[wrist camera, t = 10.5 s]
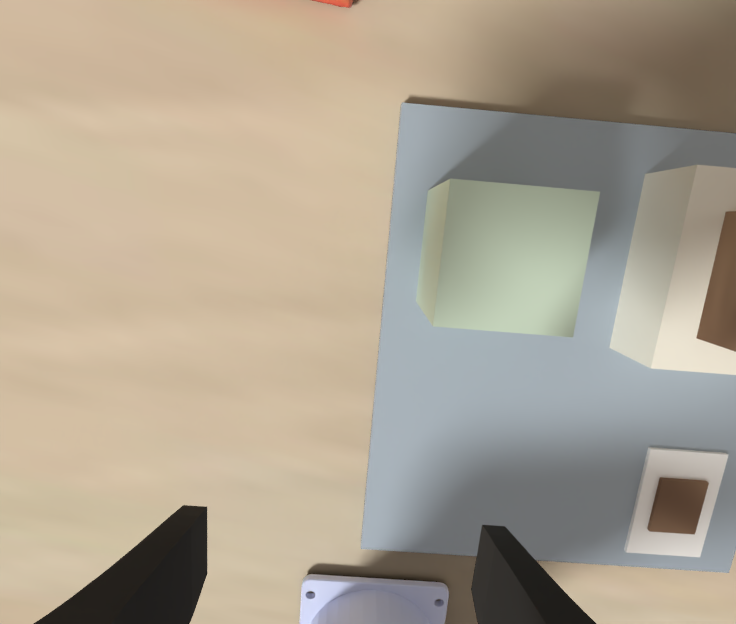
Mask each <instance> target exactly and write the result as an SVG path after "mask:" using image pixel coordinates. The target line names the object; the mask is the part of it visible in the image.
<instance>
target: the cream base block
mask: <svg viewBox="0 0 736 624" xmlns="http://www.w3.org/2000/svg"><path fill="white" fill-rule="evenodd" d="M729 211H736V168H730V167H718V166H707V165H692V166H687V167H681V168H676V169H670V170H665V171H659V172H654V173H648V174H645V177H644V181H643V186H642V191H641V196H640V201H639V206H638V211H637V216H636V220H635V225H634V230H633V235H632V240H631V245H630V250H629V254H628V259H627V264H626V269H625V274H624V279H623V284H622V289H621V293H620V298H619V303H618V308H617V313H616V318H615V323H614V328H613V332H612V337H611V342H610V347H609V348H611V349H613V350H615V351H617V352H619V353H621V354H623V355H625V356H627V357H629V358H631V359H633V360H635V361H637V362H639V363H641V364H643V365H645V366H647V367H649V368H651V369H663V370H676V371H689V372H702V373H715V374H728V375H736V352H735V351H732V350H729V349H726V348H723V347H720V346H717V345H714V344H712V343H709V342H706V341H703V340H700V339H697V338H696V337H697V333H698V329H699V324H700V320H701V316H702V311H703V307H704V303H705V299H706V294H707V290H708V286H709V281H710V277H711V273H712V268H713V264H714V260H715V256H716V251H717V247H718V243H719V238H720V234H721V230H722V225H723V221H724V217H725V213H726V212H729Z"/></svg>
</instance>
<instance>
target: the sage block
mask: <svg viewBox="0 0 736 624" xmlns="http://www.w3.org/2000/svg"><path fill="white" fill-rule="evenodd" d="M599 196H600V192H598V191H587V190H575V189H564V188H552V187H541V186H530V185H518V184H507V183H495V182H484V181H473V180H461V179H448V180H447V181H445V182H443V183H441V184H439V185H437V186H435V187H434V188H432V189H430V190H428V193H427V202H426V212H425V221H424V230H423V240H422V249H421V258H420V268H419V277H418V286H417V296H416V302H417V304H418V305H419V307H420V308H421V310H422V311H423V313H424V314H425V315H426V317H427V318H428V320H429V321H430V323H431V324H432V326H433V327H446V328H459V329H471V330H484V331H497V332H509V333H522V334H535V335H547V336H560V337H573V335H574V330H575V324H576V319H577V313H578V308H579V303H580V297H581V292H582V287H583V281H584V276H585V271H586V265H587V260H588V254H589V249H590V244H591V238H592V233H593V228H594V222H595V217H596V212H597V206H598V201H599Z"/></svg>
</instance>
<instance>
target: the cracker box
mask: <svg viewBox="0 0 736 624" xmlns="http://www.w3.org/2000/svg"><path fill="white" fill-rule="evenodd" d="M312 1H317V2H322V3H327V4H332V5H336V6H339V7H347V8H349V7H351V6H352V3H353V0H312Z"/></svg>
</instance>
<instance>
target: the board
mask: <svg viewBox="0 0 736 624" xmlns="http://www.w3.org/2000/svg"><path fill="white" fill-rule="evenodd" d="M692 165H707V166H718V167H730V168H736V133H727V132H716V131H705V130H694V129H683V128H673V127H662V126H651V125H640V124H629V123H618V122H607V121H597V120H586V119H575V118H564V117H553V116H542V115H531V114H520V113H510V112H499V111H488V110H477V109H466V108H455V107H444V106H434V105H423V104H412V103H402V104H401V110H400V121H399V132H398V143H397V154H396V165H395V176H394V187H393V198H392V209H391V220H390V231H389V242H388V253H387V264H386V274H385V285H384V296H383V307H382V318H381V329H380V340H379V351H378V362H377V373H376V384H375V395H374V406H373V417H372V428H371V439H370V450H369V460H368V471H367V482H366V493H365V504H364V515H363V526H362V537H361V549H371V550H386V551H402V552H417V553H432V554H448V555H463V556H477V552H478V546H479V540H480V534H481V528H482V525H494V526H505V527H506V528H507V529H508V530H509V531H510V532H511V533H512V534H513V536H514V537H515V538H516V539H517V540H518V541H519V542H520V543H521V545H522V546H523V547H524V548H525V549H526V550H527V551H528V552H529V554H530V555H531V556H532V557H533V558H534V559H535V560H540V561H555V562H571V563H586V564H601V565H617V566H632V567H647V568H663V569H678V570H693V571H709V572H724V573H729V570H730V567H731V564H732V560H733V557H734V554H735V550H736V375H728V374H715V373H702V372H689V371H676V370H663V369H651V368H649V367H647V366H645V365H643V364H641V363H639V362H637V361H635V360H633V359H631V358H629V357H627V356H625V355H623V354H621V353H619V352H617V351H615V350H613V349H611V348H609V347H610V342H611V337H612V332H613V328H614V323H615V318H616V313H617V308H618V303H619V298H620V293H621V289H622V284H623V279H624V274H625V269H626V264H627V259H628V254H629V250H630V245H631V240H632V235H633V230H634V225H635V220H636V216H637V211H638V206H639V201H640V196H641V191H642V186H643V181H644V177H645V174H648V173H654V172H659V171H665V170H670V169H676V168H681V167H687V166H692ZM448 179H461V180H473V181H484V182H495V183H507V184H518V185H530V186H541V187H552V188H564V189H575V190H587V191H598V192H600V196H599V201H598V206H597V212H596V217H595V222H594V228H593V233H592V238H591V244H590V249H589V254H588V260H587V265H586V271H585V276H584V281H583V287H582V292H581V297H580V303H579V308H578V313H577V319H576V324H575V330H574V335H573V337H560V336H547V335H535V334H522V333H509V332H497V331H484V330H471V329H459V328H446V327H433V326H432V324H431V323H430V321H429V320H428V318H427V317H426V315H425V314H424V313H423V311H422V310H421V308H420V307H419V305H418V304H417V302H416V296H417V286H418V277H419V268H420V258H421V249H422V240H423V230H424V221H425V212H426V202H427V193H428V190H430V189H432V188H434V187H435V186H437V185H439V184H441V183H443V182H445V181H447V180H448Z"/></svg>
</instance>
